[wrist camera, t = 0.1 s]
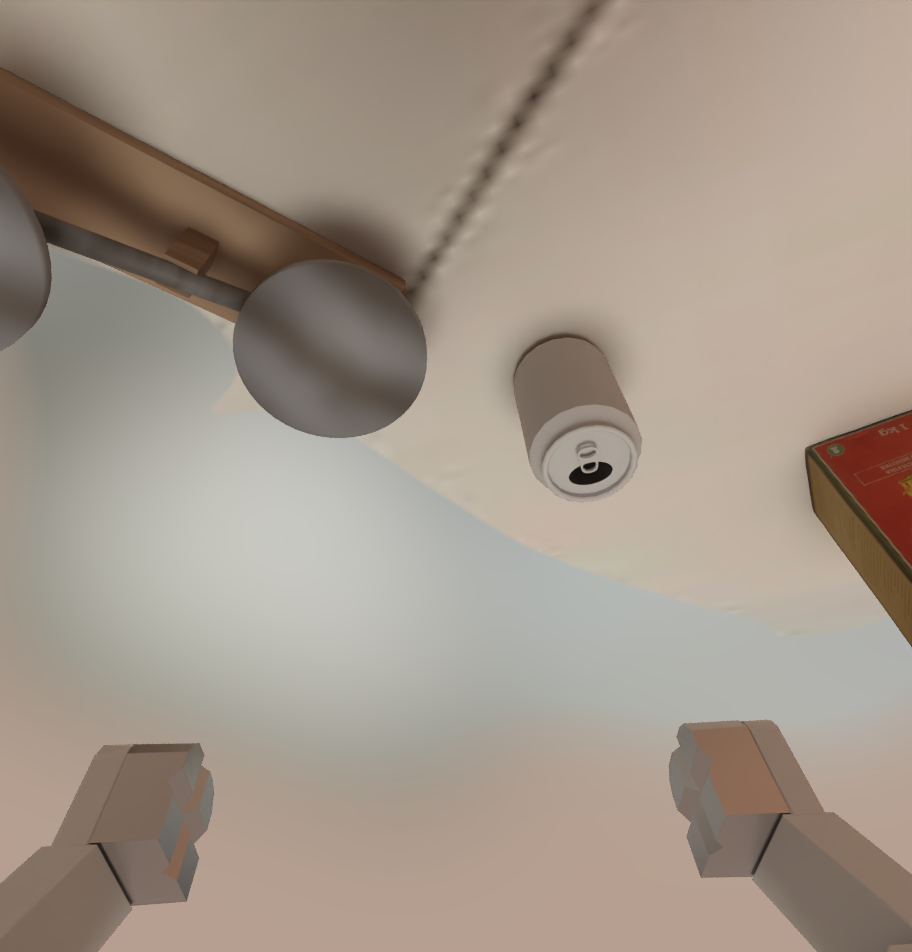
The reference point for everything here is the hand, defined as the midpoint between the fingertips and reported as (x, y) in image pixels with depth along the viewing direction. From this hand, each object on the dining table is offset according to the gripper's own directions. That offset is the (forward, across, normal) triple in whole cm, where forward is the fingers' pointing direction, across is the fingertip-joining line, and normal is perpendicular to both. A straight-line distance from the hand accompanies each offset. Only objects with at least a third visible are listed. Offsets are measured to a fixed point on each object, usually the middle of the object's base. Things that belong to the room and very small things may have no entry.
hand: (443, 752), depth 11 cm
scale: (+39, +15, 0) cm, 42 cm away
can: (+40, -10, +11) cm, 43 cm away
